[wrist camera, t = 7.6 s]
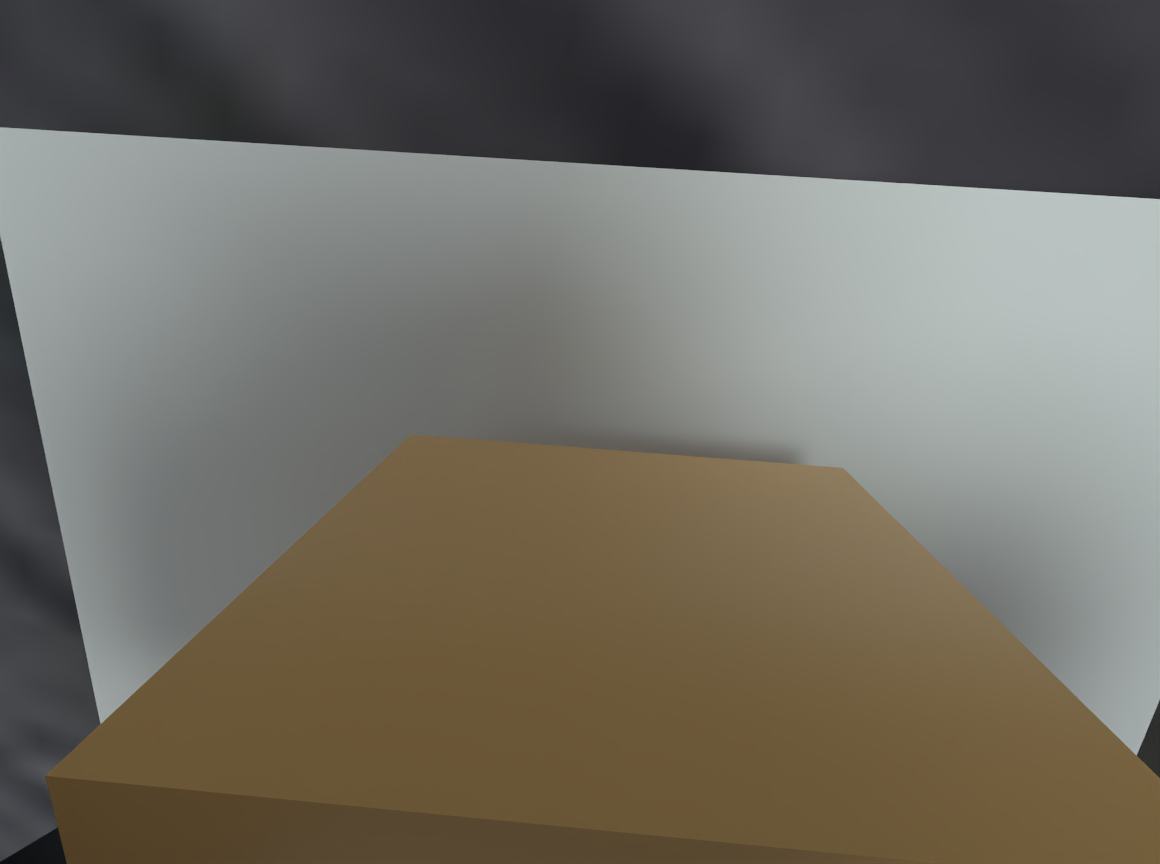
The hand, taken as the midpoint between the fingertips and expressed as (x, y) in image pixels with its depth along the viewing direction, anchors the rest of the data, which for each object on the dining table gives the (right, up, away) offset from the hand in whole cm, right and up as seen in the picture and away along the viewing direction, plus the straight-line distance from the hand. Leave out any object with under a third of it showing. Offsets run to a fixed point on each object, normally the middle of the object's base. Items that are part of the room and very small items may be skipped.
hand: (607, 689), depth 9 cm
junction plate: (0, +1, +4) cm, 4 cm away
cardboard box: (0, 0, +1) cm, 1 cm away
